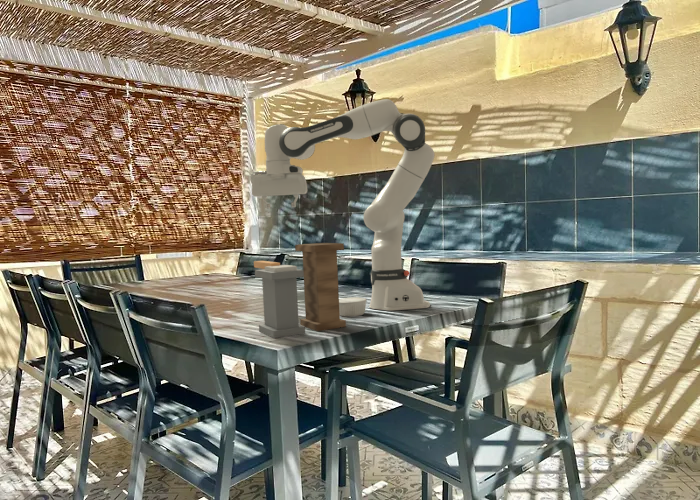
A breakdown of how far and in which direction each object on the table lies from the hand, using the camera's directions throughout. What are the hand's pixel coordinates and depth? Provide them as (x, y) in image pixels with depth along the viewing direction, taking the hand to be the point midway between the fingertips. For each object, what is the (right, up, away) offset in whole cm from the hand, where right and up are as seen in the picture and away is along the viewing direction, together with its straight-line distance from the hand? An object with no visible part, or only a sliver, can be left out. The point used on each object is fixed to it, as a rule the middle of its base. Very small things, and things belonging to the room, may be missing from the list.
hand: (280, 207), depth 199 cm
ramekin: (+26, -38, -8) cm, 47 cm away
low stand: (+5, -41, -34) cm, 53 cm away
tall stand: (+17, -40, -27) cm, 51 cm away
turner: (+1, -21, -30) cm, 37 cm away
